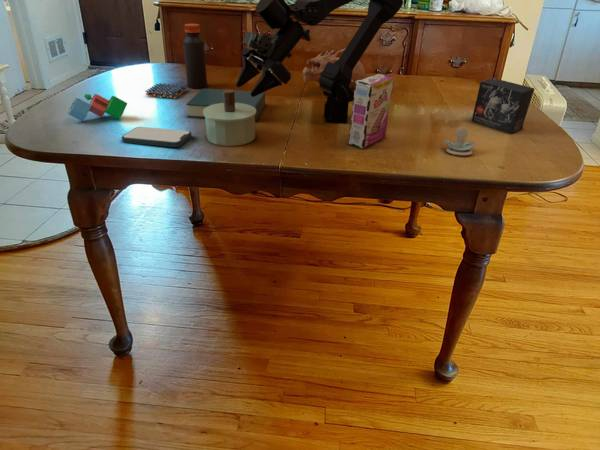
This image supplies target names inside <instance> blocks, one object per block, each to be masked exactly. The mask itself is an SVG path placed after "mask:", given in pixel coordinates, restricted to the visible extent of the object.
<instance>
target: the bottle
mask: <svg viewBox="0 0 600 450" xmlns="http://www.w3.org/2000/svg"><path fill="white" fill-rule="evenodd" d="M183 25H184V32H185V34H186V35H185V38H184V39H183V41H182V44H183V55H184V63H185V65H184V66H185V73H186V83H187V87H188V88H189V89H195V90H196V89H197V90H198V89H205V88H206V87H208V77H207V64H206V63H207V62H206V52H205V40H203V38H202V37H201V35H200V34H201V24H199V23H185V24H183Z"/></svg>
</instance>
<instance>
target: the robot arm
mask: <svg viewBox="0 0 600 450" xmlns="http://www.w3.org/2000/svg"><path fill="white" fill-rule="evenodd" d="M353 1H355V0H295V2H294V3H290V4H288V3H287V2H286V1H285V0H259V1H258V3H256V5H255V9H254V10H255V12H256V13H257V15H259V17H260V18H261V19H262V20H263V21H264V22H265V24H266V25H267V26H268V27H269V28H270V30H275V29H276V32H275V33H274V34H273V36H272V35H268V34H265V33H263V32H260V33H259V34H256V33H253V32H251V31H248V30H246V32H245V34H244V37H243V40H242V43H241V44H242V45H245V47H243V49H242V50H241V51H240V55H241V57H240V58H241V59H242V67H241V70H240V72H239V76H238V78H237V81H236V83H235V86H236V87H237V88H241V87H242V86H244V85H245V84H247V83H248V82H250V81H251V80H252V79H254V78H255V77H257V76H258V75H259V74H260V73H261V76H260V77H259V79H258V80H257V82H256V83H255V85H254V86H253V88H252V89H251V91H250V92H251V93H250V95H251V96H252V97H255V96H257V95H259V94H261V93H263V92H265V93H266V92H268V91H269V90H272V89H274V88H277V87H279V86H283V84H284V85H287V84H288V83H289V82H290V80H292V72H290V71H289V70H288V69H287V67H286V66H285V65H284V64H283V62H284V61H285V60H286V58H288V59H290V58H291V57H292V53H291V52H292V51H293V49H295V47H296V46H297V44H298V43H299V42H300V41H301V40H303V41H306V42H311V34H310V32H311V30H310V29H308V28H306V27H304V26H303V25H302V24H304V25H306V26H307V25H308V26H309V27H310V26H311V27H314V26H317V25H319V24H320V23H321V22H323V21H324V20H325V19H327V18H328V16H329V15H330V13H332V12H333V11H335V10H337V9H339V8H341V7H344V6H345V5H348V4H351V2H353ZM403 5H404V0H369V2H368V6H367V14H366V15H365V18H364V19H363V20H362V22H361V24H360V26H359V27H358V28H357V30H356V32H355V33H354V35H353V36H352V38H351V40H350V41H349V43H348V44H347V45H346V47H345V48H344V49H345V50H344V51H342V52H341V55H340V57H338V58H339V60H338V61H336V62H335V63H331V62H328V63H327V64H326V66H325V68H324V70H323V71H322V72H321V73H320V74H321V76H320V78H319V83H318V85H319V88H320V90H321V91H322V95H323V96H325V97H326V101H325V102H324V107H323V108H324V110H323V118H324V122H327V123H340V124H341V123H342V124H347V123H348V120H349V114H348V113H349V104H350V102H352V103H353V100H354V90H352V89H351V87H350V86H349V85H350V83H351V80H352V72H353V69H354V67H355V66H356V64H357V63H358V61H359V62H360V59H362V57H363V55H364V53H365V52H366V50H367V49H368V47H369V46H370V44H371V43H372V41H373V40H374V38H375V37H376V35H377V33H378V32H379V30H380V29H381V27H382V26H383V25H384V24H385V23H387V22H388V21H390V20H391V19H393V18H394V17H395V16H396V15H397V13H398V12H399V11H400V10H401V8H402V7H403ZM292 17H293V18H294V19H295V20H294V19H293V18H292Z"/></svg>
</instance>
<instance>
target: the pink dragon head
mask: <svg viewBox="0 0 600 450" xmlns="http://www.w3.org/2000/svg"><path fill="white" fill-rule="evenodd" d="M345 49H346V48H343V49H339V50H338V51H336V52H335V51H334V49H332V50H331V51H329V52H328V51H326V52H325V53H324V55H322V54H323V52H324V51H325V49H322V51H321V52H320V53H319V54H318V55H317V56H315V57H313V58H310V59H308V60H307V61H306V64H307V65H310V66H312V67H309V68H308V66H304V68H303V70H302V74H303V79H302V80H303V83H304V85H306V84H307V83H308V82H311V81H314V82H317V83H318V84H319V78H320V76H321V74H320V73H321V72H322V71H323V70H324V68H325V66H326V64H327V63H328V62H331V63H335V62H336V61H338V60H339V58H340V57H338V55H339V54H341V53H343V52H344V50H345ZM334 52H335V53H334ZM333 53H334V54H333ZM365 76H366V71H365V67H364V64H363V63H362V62H361V61H360V60H359V61H358V63H357V64H356V66H355V67H354V69H353V72H352V80H351V83H350V85H349V87H350V88H355V81H357V80H361V79H364V78H365Z"/></svg>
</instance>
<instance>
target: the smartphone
mask: <svg viewBox="0 0 600 450" xmlns="http://www.w3.org/2000/svg"><path fill="white" fill-rule="evenodd" d="M192 137H193V133H192V131H190V130H181V129H170V128H161V127H160V128H158V127H150V126H136V127H134V128H133V129H130V130H129V131H128V132H126V133H124V134H123V135H122V136H121V142H123V143H128V144H137V145H148V146H158V147H169V148H180V147H182V146H183V145H184V144H185V143H186V142H187V141H189V140H190V139H191V138H192Z"/></svg>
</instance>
